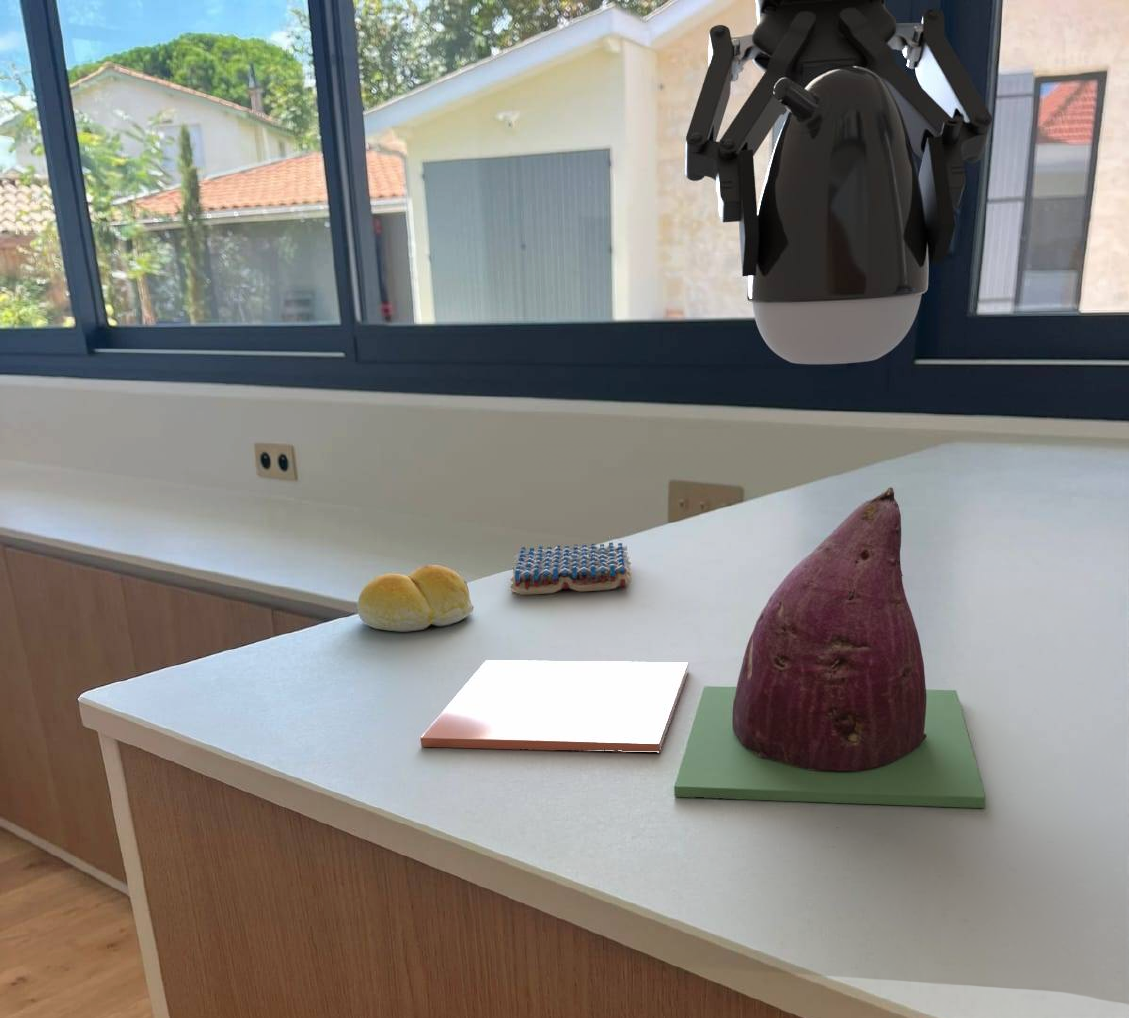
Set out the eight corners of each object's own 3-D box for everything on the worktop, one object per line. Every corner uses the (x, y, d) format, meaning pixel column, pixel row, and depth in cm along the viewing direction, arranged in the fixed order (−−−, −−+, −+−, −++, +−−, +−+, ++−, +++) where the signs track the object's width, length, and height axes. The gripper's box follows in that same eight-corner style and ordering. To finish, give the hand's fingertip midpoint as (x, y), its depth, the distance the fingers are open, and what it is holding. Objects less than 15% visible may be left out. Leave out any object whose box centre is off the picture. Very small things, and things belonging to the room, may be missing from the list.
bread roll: (352, 614, 94) (346, 567, 93) (458, 599, 97) (454, 552, 95) (369, 641, 87) (362, 589, 85) (483, 623, 89) (479, 573, 88)
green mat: (955, 699, 69) (956, 689, 68) (984, 808, 55) (985, 797, 55) (704, 694, 72) (704, 685, 72) (674, 797, 59) (673, 786, 58)
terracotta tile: (688, 671, 76) (688, 662, 76) (659, 753, 64) (659, 744, 64) (486, 668, 79) (485, 660, 79) (420, 747, 67) (419, 737, 67)
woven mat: (629, 561, 105) (628, 539, 105) (633, 591, 96) (632, 567, 95) (516, 567, 106) (514, 545, 105) (508, 598, 96) (506, 574, 95)
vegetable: (920, 764, 67) (1016, 510, 61) (889, 817, 58) (997, 525, 52) (751, 703, 70) (827, 457, 65) (697, 744, 61) (780, 463, 56)
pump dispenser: (708, 366, 69) (707, 74, 63) (820, 350, 75) (828, 82, 69) (846, 372, 62) (859, 42, 55) (958, 354, 67) (981, 54, 61)
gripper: (985, 18, 74) (1035, 290, 65) (637, 45, 76) (643, 313, 67) (1017, -106, 67) (1078, 181, 59) (633, -73, 69) (640, 210, 60)
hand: (846, 251), depth 63 cm, fingers closed on pump dispenser, 10 cm apart
